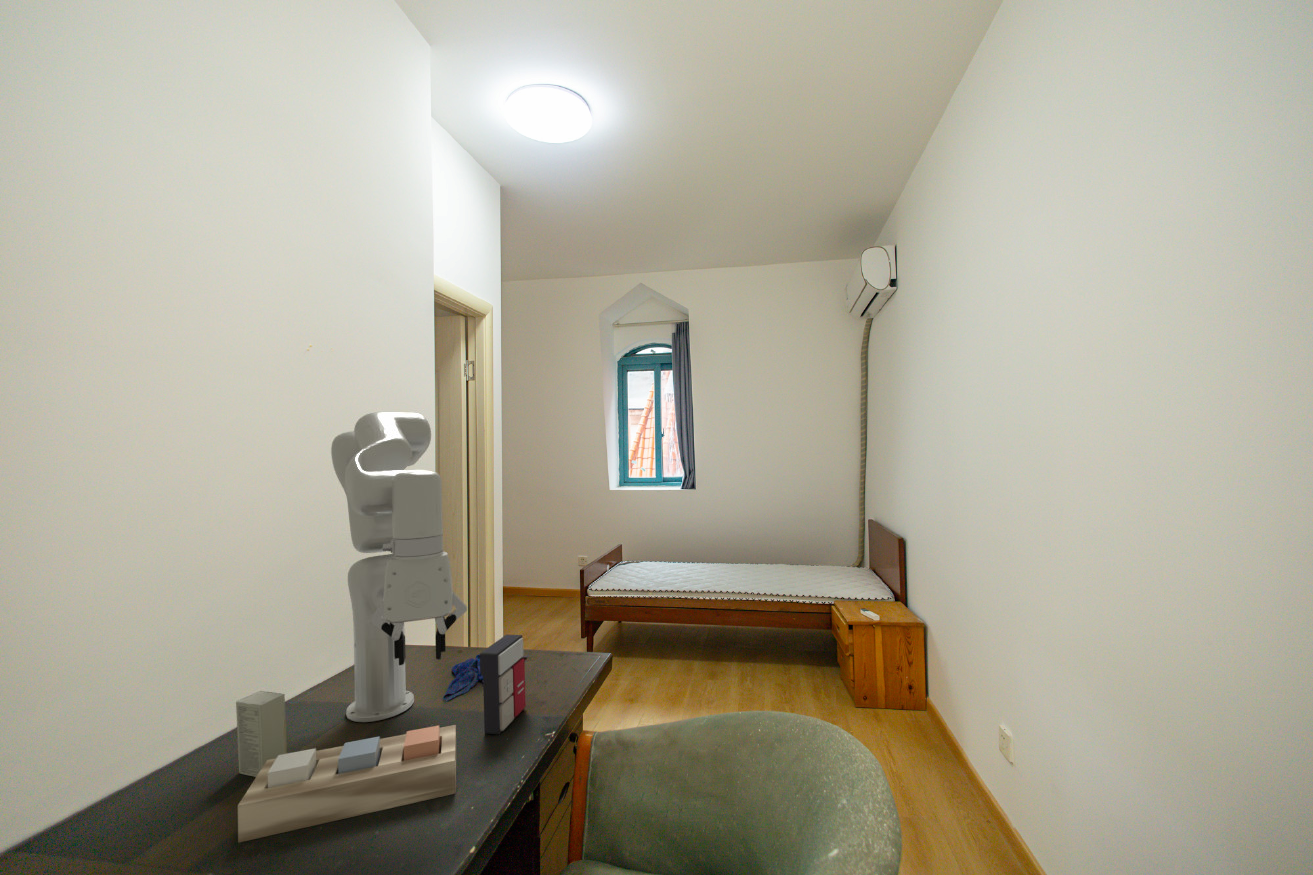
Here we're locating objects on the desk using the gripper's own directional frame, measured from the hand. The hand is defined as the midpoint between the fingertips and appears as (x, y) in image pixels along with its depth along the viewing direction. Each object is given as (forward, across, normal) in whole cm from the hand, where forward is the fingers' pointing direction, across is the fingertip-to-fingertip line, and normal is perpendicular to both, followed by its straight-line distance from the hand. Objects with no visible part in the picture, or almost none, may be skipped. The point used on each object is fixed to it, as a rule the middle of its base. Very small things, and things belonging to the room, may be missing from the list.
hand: (420, 658), depth 89 cm
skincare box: (+20, -26, +14) cm, 35 cm away
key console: (+19, -9, 0) cm, 21 cm away
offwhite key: (+15, -18, 0) cm, 24 cm away
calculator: (+20, +14, +15) cm, 28 cm away
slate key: (+15, -9, 0) cm, 18 cm away
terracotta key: (+15, 0, 0) cm, 15 cm away
